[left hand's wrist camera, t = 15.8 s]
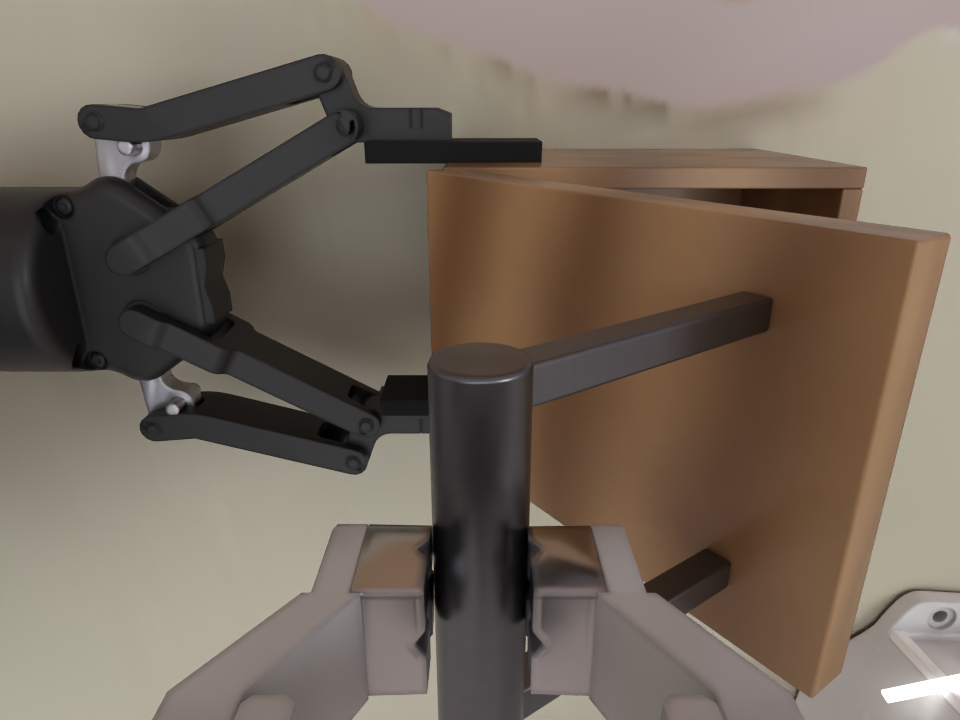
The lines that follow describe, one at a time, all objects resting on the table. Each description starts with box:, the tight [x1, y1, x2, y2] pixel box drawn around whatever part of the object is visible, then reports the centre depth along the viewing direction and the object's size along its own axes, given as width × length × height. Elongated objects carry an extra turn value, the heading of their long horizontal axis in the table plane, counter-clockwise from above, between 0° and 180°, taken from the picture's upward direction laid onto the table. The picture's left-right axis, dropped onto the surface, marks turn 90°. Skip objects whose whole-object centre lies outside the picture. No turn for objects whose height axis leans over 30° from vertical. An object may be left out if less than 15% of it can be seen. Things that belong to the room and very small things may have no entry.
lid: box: [427, 169, 951, 720], centre depth 16 cm, size 15×10×9 cm
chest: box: [443, 149, 867, 221], centre depth 29 cm, size 14×10×10 cm, turn 90°
